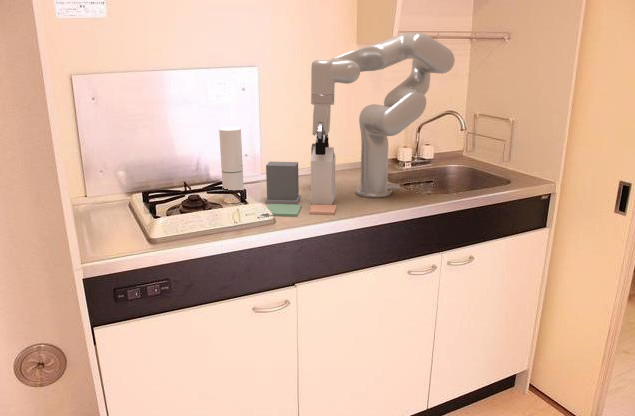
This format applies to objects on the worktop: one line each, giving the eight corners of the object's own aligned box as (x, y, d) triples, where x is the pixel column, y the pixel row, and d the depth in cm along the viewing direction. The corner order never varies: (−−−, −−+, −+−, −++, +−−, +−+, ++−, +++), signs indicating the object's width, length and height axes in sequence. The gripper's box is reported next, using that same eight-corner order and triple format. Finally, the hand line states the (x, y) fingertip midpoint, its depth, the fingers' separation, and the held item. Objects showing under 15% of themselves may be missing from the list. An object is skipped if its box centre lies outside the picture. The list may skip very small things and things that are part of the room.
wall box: (300, 197, 189) (300, 161, 185) (297, 204, 181) (296, 166, 177) (269, 196, 190) (268, 160, 186) (265, 203, 182) (263, 166, 178)
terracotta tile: (336, 207, 178) (336, 204, 177) (334, 214, 170) (334, 212, 170) (312, 206, 179) (312, 204, 178) (309, 214, 171) (309, 211, 171)
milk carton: (331, 205, 180) (331, 149, 174) (311, 204, 181) (310, 148, 175) (335, 199, 187) (335, 145, 181) (315, 198, 188) (315, 144, 182)
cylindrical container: (246, 197, 188) (243, 127, 181) (241, 203, 182) (237, 130, 174) (226, 197, 189) (222, 127, 182) (221, 203, 182) (216, 130, 175)
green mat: (301, 207, 178) (301, 204, 178) (297, 216, 169) (297, 214, 168) (269, 206, 179) (269, 203, 179) (262, 215, 170) (262, 213, 169)
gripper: (314, 96, 182) (313, 146, 187) (307, 102, 165) (307, 156, 171) (336, 97, 181) (335, 147, 186) (331, 102, 165) (330, 157, 170)
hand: (322, 151), depth 178 cm, fingers open, 9 cm apart
